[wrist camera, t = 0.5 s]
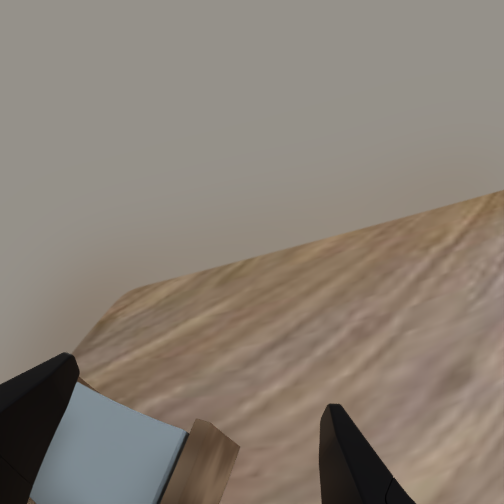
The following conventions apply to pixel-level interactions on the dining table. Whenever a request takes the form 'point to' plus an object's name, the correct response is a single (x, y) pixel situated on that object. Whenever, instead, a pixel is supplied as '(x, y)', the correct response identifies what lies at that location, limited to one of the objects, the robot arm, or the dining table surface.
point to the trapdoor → (107, 455)
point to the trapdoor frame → (200, 465)
